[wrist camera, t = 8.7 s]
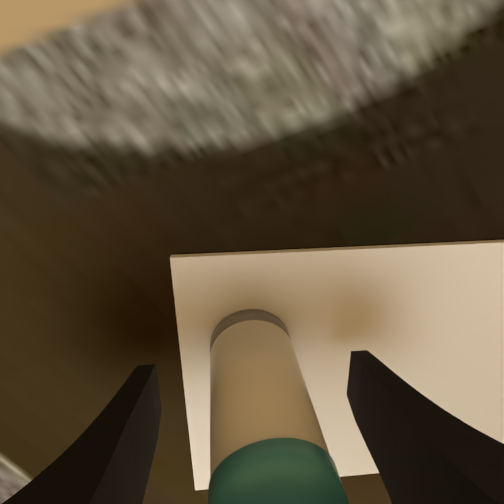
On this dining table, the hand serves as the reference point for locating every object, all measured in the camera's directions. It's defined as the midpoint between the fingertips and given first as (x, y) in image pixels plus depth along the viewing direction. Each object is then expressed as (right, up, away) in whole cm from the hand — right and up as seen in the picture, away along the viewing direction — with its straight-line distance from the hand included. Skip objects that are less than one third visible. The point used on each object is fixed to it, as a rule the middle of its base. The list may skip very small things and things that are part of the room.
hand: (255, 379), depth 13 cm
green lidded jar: (0, +1, +2) cm, 2 cm away
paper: (+6, -1, +4) cm, 7 cm away
